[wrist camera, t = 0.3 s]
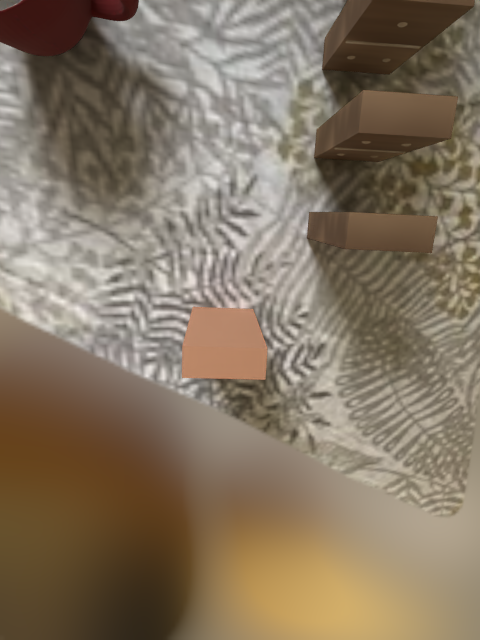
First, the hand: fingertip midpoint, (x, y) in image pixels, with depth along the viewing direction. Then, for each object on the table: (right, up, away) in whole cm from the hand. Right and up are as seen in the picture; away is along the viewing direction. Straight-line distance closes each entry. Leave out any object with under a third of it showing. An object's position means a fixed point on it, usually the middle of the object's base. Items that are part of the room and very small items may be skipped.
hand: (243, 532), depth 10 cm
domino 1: (-2, +5, +23) cm, 24 cm away
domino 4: (+8, +13, +22) cm, 27 cm away
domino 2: (+8, +24, +19) cm, 32 cm away
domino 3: (+8, +19, +20) cm, 29 cm away
